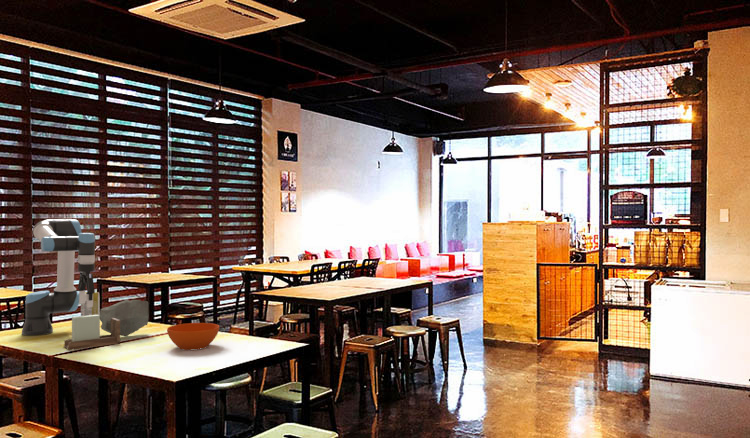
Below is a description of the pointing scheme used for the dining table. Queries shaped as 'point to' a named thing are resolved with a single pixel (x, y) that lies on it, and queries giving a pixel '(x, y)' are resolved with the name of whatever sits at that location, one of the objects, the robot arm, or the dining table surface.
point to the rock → (126, 316)
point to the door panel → (85, 327)
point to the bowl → (193, 335)
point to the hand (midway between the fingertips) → (86, 305)
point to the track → (102, 341)
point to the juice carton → (91, 310)
